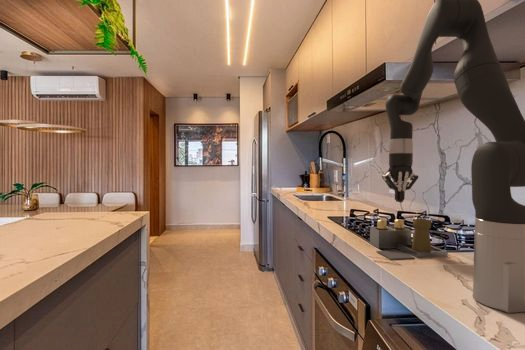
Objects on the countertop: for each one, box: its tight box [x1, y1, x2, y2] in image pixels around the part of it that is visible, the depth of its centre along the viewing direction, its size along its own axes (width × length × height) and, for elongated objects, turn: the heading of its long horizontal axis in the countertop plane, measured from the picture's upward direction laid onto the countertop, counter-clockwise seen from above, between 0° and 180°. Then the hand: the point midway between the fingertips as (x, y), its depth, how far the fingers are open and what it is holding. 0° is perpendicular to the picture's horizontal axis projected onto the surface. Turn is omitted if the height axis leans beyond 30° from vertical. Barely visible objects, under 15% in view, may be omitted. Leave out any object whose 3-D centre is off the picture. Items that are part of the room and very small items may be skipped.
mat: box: [376, 249, 416, 261], centre depth 96 cm, size 8×8×1 cm
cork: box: [411, 217, 432, 252], centre depth 99 cm, size 6×6×11 cm
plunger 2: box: [393, 218, 405, 230], centre depth 107 cm, size 3×3×5 cm
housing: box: [369, 226, 449, 259], centre depth 102 cm, size 17×17×6 cm
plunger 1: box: [376, 219, 388, 230], centre depth 107 cm, size 3×3×5 cm
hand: (399, 201), depth 107 cm, fingers closed
